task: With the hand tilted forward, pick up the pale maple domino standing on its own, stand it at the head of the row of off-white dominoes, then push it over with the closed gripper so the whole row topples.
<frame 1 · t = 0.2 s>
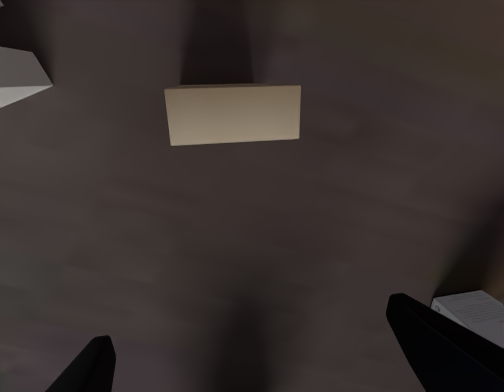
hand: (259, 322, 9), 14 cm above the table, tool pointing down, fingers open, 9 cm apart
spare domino: (218, 99, 20), on the table
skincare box: (452, 305, 32), on the table
domino 2: (4, 85, 18), on the table
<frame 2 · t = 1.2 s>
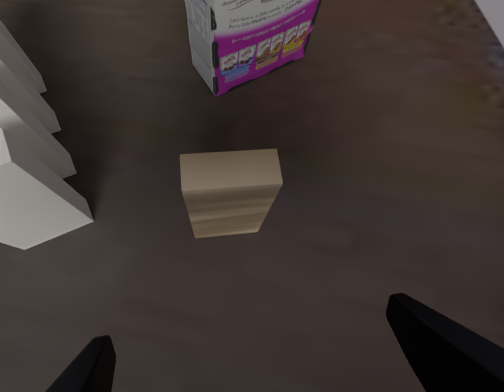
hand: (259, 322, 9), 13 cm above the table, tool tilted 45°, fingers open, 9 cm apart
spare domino: (225, 223, 24), on the table
candy bar box: (247, 62, 31), on the table
domino 4: (26, 131, 25), on the table
domino 3: (41, 175, 24), on the table
domino 2: (56, 223, 23), on the table
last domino: (14, 91, 26), on the table
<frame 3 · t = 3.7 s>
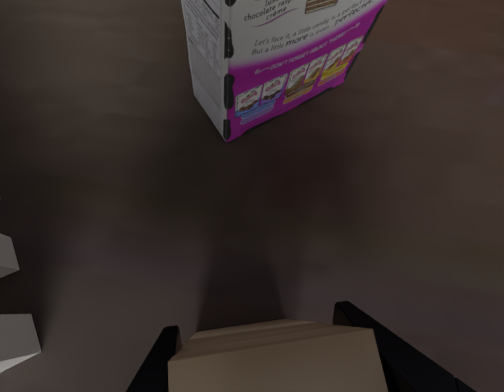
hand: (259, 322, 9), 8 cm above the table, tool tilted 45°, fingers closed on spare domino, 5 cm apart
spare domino: (244, 345, 16), on the table, touching gripper
candy bar box: (268, 91, 23), on the table
when the fingers open (9 cm above the table, at t = 9.1 s): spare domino stays where it is, on the table.
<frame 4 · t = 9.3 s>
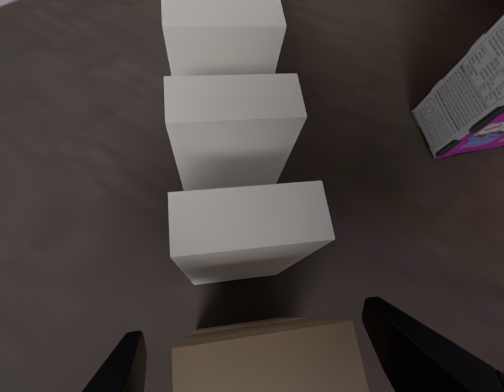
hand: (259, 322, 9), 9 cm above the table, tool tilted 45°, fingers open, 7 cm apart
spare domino: (241, 342, 17), on the table
candy bar box: (473, 125, 25), on the table
domino 4: (220, 138, 22), on the table
domino 3: (226, 195, 20), on the table
domino 2: (233, 263, 18), on the table
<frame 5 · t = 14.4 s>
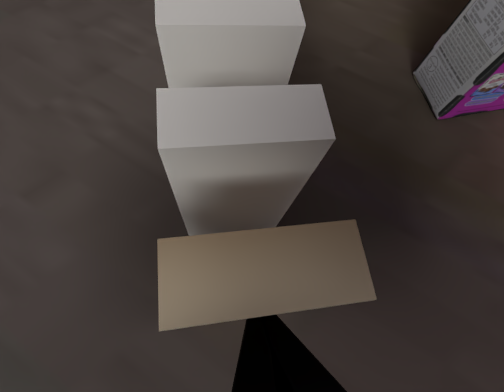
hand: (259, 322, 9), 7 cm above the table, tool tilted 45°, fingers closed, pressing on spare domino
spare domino: (238, 294, 16), on the table, touching gripper
candy bar box: (476, 89, 24), on the table
domino 3: (223, 151, 19), on the table
domino 2: (230, 217, 18), on the table
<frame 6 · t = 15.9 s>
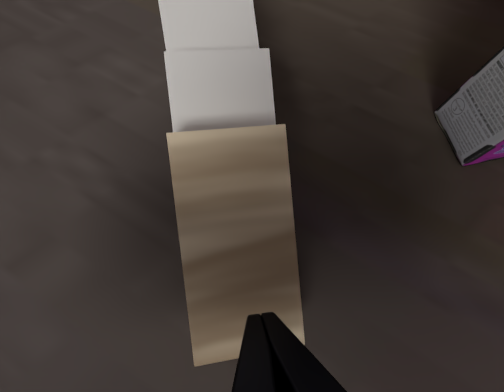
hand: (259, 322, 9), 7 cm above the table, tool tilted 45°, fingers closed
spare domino: (248, 343, 14), point 1 cm above the table, tilted 65°, touching domino 2
candy bar box: (502, 128, 23), on the table
domino 3: (229, 166, 17), point 1 cm above the table, tilted 66°, touching domino 2
domino 2: (236, 250, 16), point 1 cm above the table, tilted 66°, touching domino 3, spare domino
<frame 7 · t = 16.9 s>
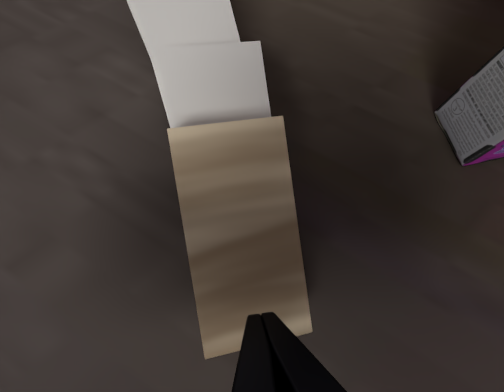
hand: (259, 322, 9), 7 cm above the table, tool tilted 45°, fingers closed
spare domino: (256, 334, 14), point 1 cm above the table, tilted 66°, touching domino 2
candy bar box: (502, 128, 23), on the table
domino 3: (223, 155, 18), point 1 cm above the table, tilted 67°, touching domino 2
domino 2: (239, 242, 16), point 1 cm above the table, tilted 66°, touching domino 3, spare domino
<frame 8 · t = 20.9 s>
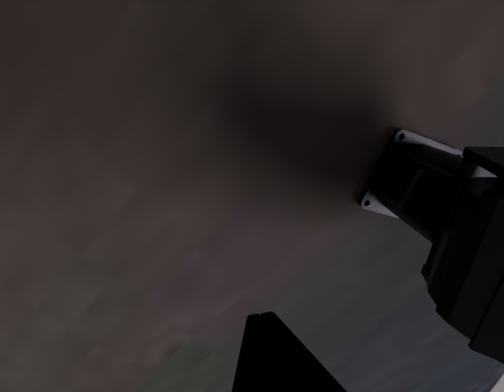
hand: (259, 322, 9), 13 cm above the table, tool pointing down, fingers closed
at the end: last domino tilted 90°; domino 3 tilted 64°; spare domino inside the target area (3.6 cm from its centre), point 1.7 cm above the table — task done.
